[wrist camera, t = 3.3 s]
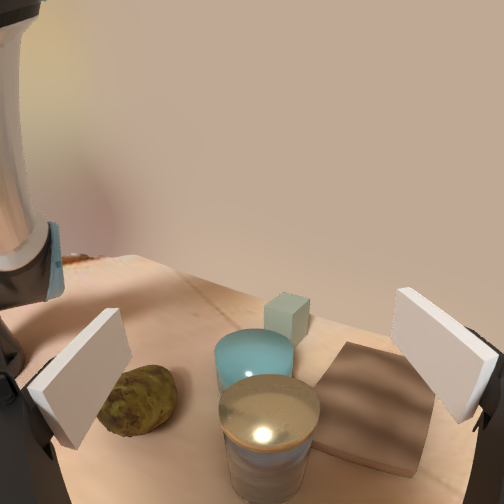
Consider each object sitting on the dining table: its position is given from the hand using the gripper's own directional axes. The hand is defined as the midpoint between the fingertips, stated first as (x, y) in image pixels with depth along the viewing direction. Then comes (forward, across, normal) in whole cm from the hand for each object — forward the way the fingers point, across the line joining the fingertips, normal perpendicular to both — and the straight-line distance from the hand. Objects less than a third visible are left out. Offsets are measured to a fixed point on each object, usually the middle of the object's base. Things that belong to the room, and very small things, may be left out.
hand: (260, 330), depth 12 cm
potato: (+13, -14, -20) cm, 27 cm away
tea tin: (+5, 0, -21) cm, 21 cm away
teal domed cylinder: (+20, -1, -20) cm, 28 cm away
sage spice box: (+31, +4, -19) cm, 37 cm away
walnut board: (+14, +14, -21) cm, 29 cm away
